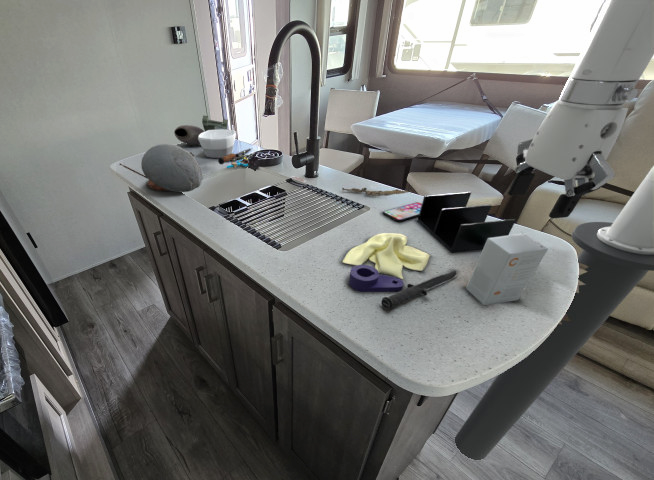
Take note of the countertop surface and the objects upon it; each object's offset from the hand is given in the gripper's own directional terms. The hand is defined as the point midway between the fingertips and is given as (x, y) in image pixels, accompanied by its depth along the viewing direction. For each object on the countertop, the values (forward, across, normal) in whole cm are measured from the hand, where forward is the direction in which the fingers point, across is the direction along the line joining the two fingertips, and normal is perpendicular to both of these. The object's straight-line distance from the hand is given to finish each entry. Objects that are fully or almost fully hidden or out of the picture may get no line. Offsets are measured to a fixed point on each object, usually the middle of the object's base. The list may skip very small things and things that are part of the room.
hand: (535, 205), depth 58 cm
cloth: (+21, +18, +16) cm, 32 cm away
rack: (+21, +26, -8) cm, 34 cm away
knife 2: (+21, +4, +13) cm, 25 cm away
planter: (+14, +137, +76) cm, 158 cm away
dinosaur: (+17, +108, +42) cm, 117 cm away
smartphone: (+21, +41, -2) cm, 46 cm away
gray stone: (+8, +80, +73) cm, 108 cm away
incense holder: (+22, +86, +81) cm, 120 cm away
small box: (+21, 0, -1) cm, 21 cm away
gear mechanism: (+18, +97, +43) cm, 108 cm away
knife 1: (+20, +116, +51) cm, 128 cm away
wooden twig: (+19, +60, +2) cm, 62 cm away
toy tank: (+11, +148, +58) cm, 160 cm away
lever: (+21, +8, +23) cm, 32 cm away
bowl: (+21, +120, +58) cm, 135 cm away
